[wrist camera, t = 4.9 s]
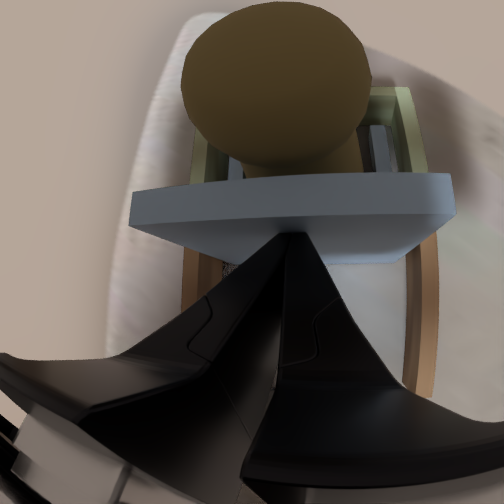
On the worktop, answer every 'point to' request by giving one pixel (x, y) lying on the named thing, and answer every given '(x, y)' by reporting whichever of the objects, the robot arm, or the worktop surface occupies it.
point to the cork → (279, 90)
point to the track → (417, 260)
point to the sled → (303, 211)
